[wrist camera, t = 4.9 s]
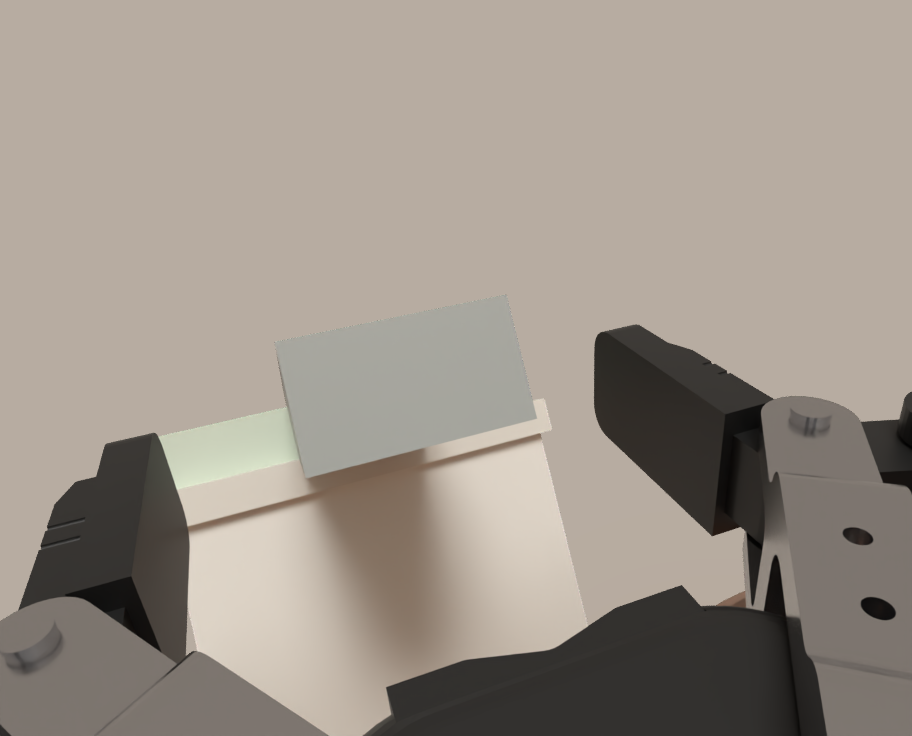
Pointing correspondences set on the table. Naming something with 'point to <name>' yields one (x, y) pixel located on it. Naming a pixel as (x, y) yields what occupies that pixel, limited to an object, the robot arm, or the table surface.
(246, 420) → the cover
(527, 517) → the upright grey panel box
